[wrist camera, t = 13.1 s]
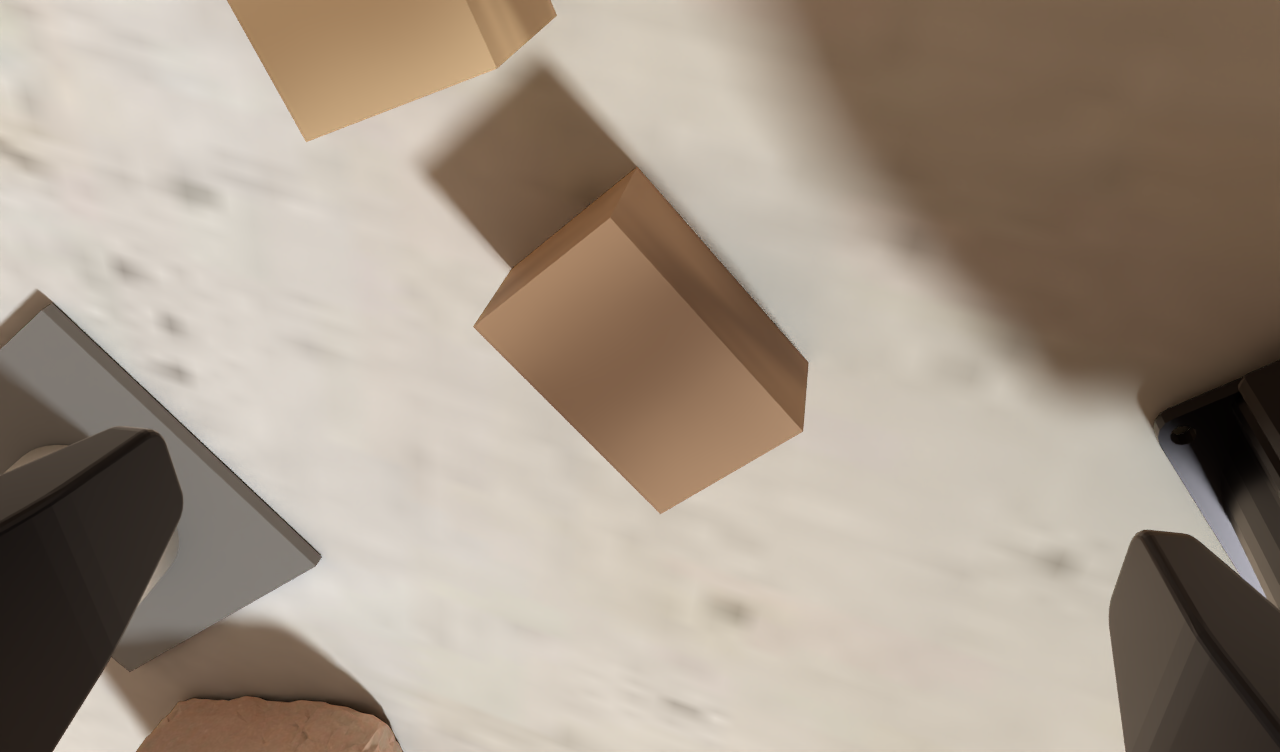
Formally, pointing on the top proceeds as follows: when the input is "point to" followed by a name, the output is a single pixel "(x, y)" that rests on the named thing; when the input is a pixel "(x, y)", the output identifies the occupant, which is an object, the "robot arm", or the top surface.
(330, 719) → the brick
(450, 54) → the oak block
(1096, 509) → the top surface
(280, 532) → the mat
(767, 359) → the walnut offcut
